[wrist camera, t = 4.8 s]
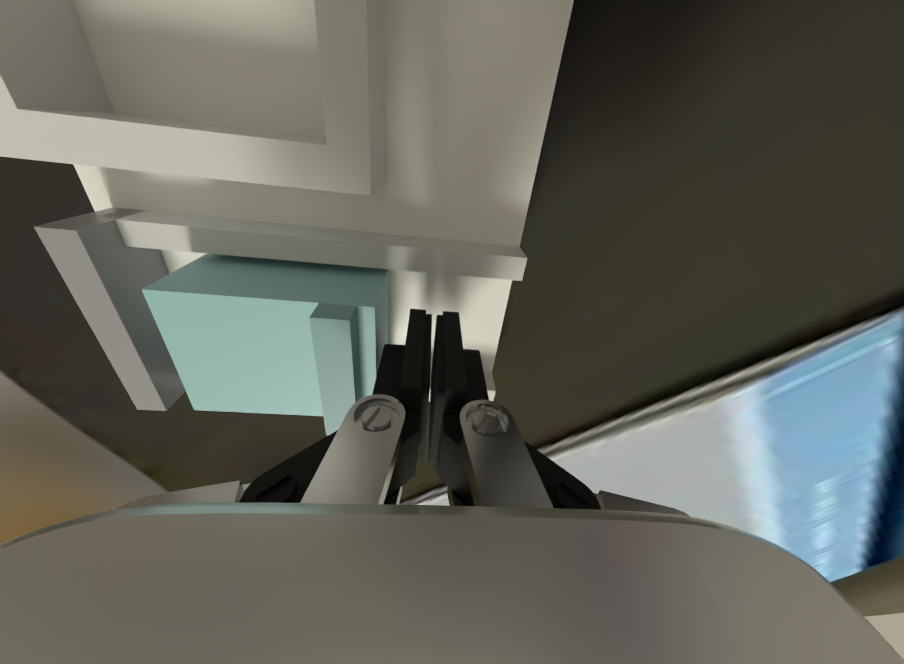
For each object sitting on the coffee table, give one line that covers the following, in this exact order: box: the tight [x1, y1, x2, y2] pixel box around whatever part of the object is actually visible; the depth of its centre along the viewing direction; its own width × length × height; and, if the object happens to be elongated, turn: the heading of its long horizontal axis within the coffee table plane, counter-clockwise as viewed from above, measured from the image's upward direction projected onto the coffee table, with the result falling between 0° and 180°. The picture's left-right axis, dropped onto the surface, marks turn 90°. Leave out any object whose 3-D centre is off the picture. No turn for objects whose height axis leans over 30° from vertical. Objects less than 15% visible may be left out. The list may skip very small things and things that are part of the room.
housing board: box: [0, 0, 574, 411], centre depth 9 cm, size 14×17×4 cm
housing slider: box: [141, 253, 389, 435], centre depth 11 cm, size 6×4×4 cm
